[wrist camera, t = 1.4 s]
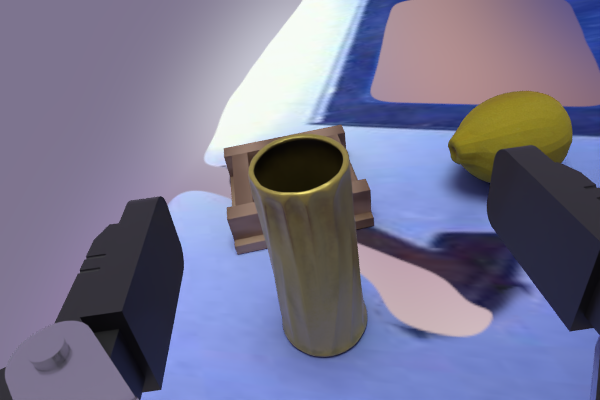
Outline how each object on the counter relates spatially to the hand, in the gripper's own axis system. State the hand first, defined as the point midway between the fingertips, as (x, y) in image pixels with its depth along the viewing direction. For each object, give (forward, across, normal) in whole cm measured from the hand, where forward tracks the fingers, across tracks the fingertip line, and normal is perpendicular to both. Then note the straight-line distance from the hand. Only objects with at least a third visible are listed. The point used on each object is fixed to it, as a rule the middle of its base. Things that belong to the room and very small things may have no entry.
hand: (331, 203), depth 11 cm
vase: (+12, 0, +19) cm, 23 cm away
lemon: (+24, -18, +17) cm, 35 cm away
